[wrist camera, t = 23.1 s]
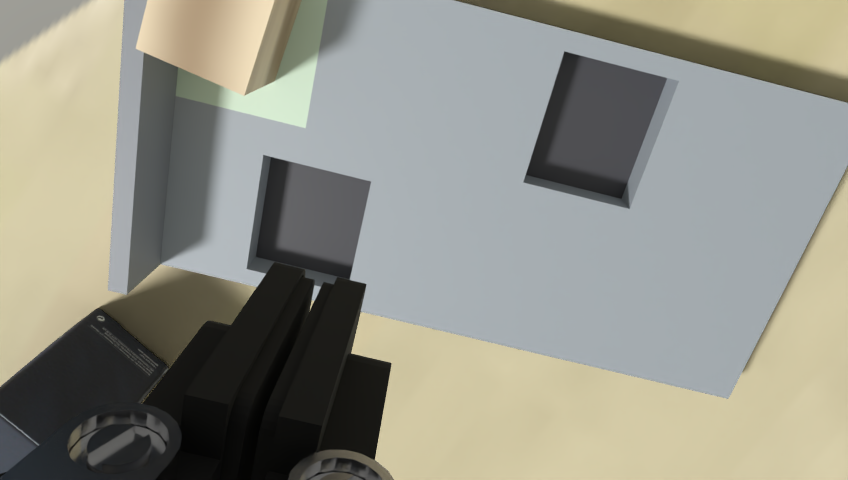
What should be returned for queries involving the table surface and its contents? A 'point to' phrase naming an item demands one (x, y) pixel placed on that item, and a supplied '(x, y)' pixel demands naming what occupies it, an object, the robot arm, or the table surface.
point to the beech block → (220, 38)
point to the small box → (73, 383)
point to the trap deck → (486, 183)
